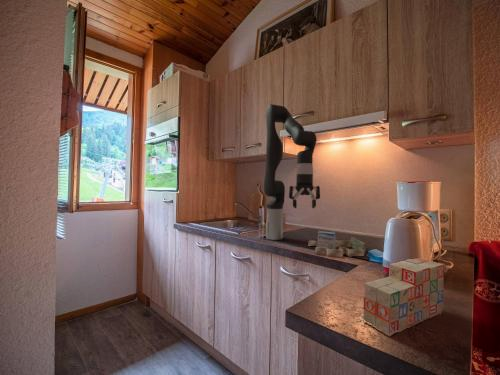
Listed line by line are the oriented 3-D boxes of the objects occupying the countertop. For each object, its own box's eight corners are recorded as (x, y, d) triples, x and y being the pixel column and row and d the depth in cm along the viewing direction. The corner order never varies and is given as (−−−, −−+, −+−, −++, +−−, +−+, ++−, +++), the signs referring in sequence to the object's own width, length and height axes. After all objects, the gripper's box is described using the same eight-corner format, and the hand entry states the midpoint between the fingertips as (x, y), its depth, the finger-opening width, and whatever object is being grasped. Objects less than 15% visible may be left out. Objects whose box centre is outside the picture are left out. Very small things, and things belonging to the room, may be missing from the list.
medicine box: (317, 250, 116) (317, 232, 115) (319, 248, 119) (319, 230, 119) (334, 252, 112) (335, 233, 112) (336, 250, 116) (336, 232, 116)
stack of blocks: (389, 339, 50) (390, 279, 50) (362, 323, 56) (363, 269, 55) (443, 313, 60) (444, 263, 60) (416, 302, 65) (417, 256, 65)
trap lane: (318, 256, 106) (318, 245, 105) (308, 246, 122) (308, 236, 122) (368, 256, 106) (369, 245, 106) (352, 246, 123) (352, 236, 123)
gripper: (317, 173, 119) (316, 207, 119) (288, 173, 119) (287, 207, 119) (322, 173, 111) (321, 209, 112) (291, 173, 111) (290, 208, 111)
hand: (304, 208), depth 115 cm, fingers open, 8 cm apart
